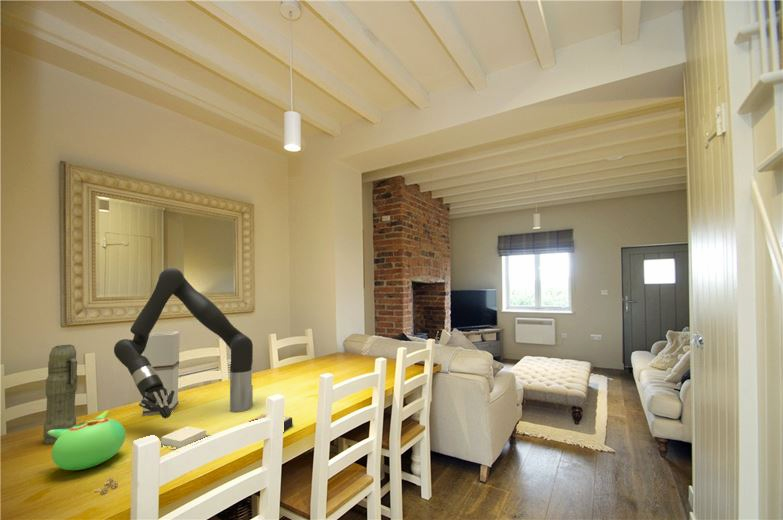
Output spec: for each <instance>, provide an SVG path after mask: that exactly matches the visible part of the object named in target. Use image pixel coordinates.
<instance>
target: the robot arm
mask: <svg viewBox="0 0 783 520" xmlns="http://www.w3.org/2000/svg"><path fill="white" fill-rule="evenodd" d="M172 295H174V296H175V297H176V298H178V300H179V301H180V302H182V303H183V305H184V306H185V308H187V310H188V311H189V313H190V314H192V316H193V317H194V318H195V319H196V320H197V321H198V322H199V323H200V324H202V325H203V326H204V327H205V328H206V329H208V330H209V331H211V332H212V333H214V334H215V335H217V336H218V337H219V338H220V339H221V340H222V341H223V342H224V343H225V344H226V345H227V346H228V348H229V349H230V366H229V373H230V374H229V387H230V388H229V411H230V412H234V413H240V412H245V411H248V410H250V409H251V408H252V406H253V404H254V403H253V402H254V401H253V398H254V396H253V393H254V391H253V388H254V387H253V386H254V385H253V382H252V380H253V372H252V371H253V370H252V369H253V368H252V367H253V361H254V360H253V356H254V354H253V353H254V352H253V351H254V345H253V342H252V340H251V339H250V338H249V336H247V335H246V334H244V333H243V332H241V331H240V330H239V329H237V328H236V327H235V326H234V325H233V324H232V323H231V322H230V320H229V319H228V318H227V317H226V315H225V314H224V313H223V312H222V311H221V310H220V309H219V308H218V306H216V304H214V302H212V301H211V300H210V299H209V298H207V297H206V296H205V295H203V294H202V293H201V292H199V291H198V290H196V289H195V288H194V287H193V286H192V284H190V282H189V281H188V280H187V279H186V277H185V276H184V274H183V272H182V271H181V270H179V269H177V268H174V267H173V268H172V267H170V268H166V269H164V270H162V271H161V272H160V273H159V276H158V280H157V282H156V285H155V288H154V290H153V292H152V294H151V296H150V297H149V300H148V301H147V302H146V303H145V305H144V307H143V308H142V309H141V311H140V313H139V314H138V316H137V317H136V319H135V321H134V322H133V324H132V326H131V328H130V333H132V334H133V338H132V339H126V338H125V339H121V340H120V339H119V340H118V341H117V342H116V343H115V344H114V347H113V353H114V355H115V357H116V358H117V360H119V362H121V364H122V365H123V366H125V368H127V369H128V372H129V374H130V376H131V378H132V380H133V382H134V384H135V386H136V388H137V390H138V392H139V393H140V396H142V400H141V401H140V402H139V404H138V406H139V407H141V408H142V409H143V408H145V409H148V410H150V411H152V412H154V411H159V412H160V414H159V415H160V416H161V417H162V418H163V419H164V420H166V419H168V418H170V416H171V415H172V413H171V411H170V409H169V405H170V404H171V403H172V399H173V396H174V391H171V392H170V391H167V389H166V388H164V387H163V383H162V381H161V379H160V378H159V376H158V374H157V373H156V371H155V369H154V368H153V367H152V366H151V364H150V362H149V360H148V359H147V358H146V357H145V356H144V355H142V354H144V350H145V348H146V345H147V341H148V338H149V336H150V333H151V332H152V330H153V329H154V327H155V326H156V323H157V322H158V320H159V318H160V316H161V314H162V312H163V310H164V308H165V306H166V304H167V303H168V301H169V299H170V298H171V297H172ZM166 395H167V399H166ZM166 400H167V401H166Z"/></svg>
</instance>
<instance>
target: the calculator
mask: <svg viewBox="0 0 783 520" xmlns="http://www.w3.org/2000/svg"><path fill="white" fill-rule="evenodd" d="M266 415H267V414H261V415H258V416H257V417H255V418H253V419H251V420H249V421H248V422H251V421H254V420H258V419H261V418H265V417H266ZM284 417H285V419H284V432H283V433H285V432H286V431H288V430H289V429H291V428H293V417H291V416H284Z"/></svg>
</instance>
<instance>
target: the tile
mask: <svg viewBox="0 0 783 520" xmlns="http://www.w3.org/2000/svg"><path fill="white" fill-rule="evenodd" d="M206 435H207V431H206V429H204V428H199V427H193V426H185V427H182V428H179V429H177V430H175V431H172V432H170V433H168V434H166V435H163V436H161V438H160V439H161V444H163V445H167V446H171V447H176V448H181V447H183V446H186V445H188V444H191V443H193V442H196V441H198V440H200V439H202V438H204V437H206Z"/></svg>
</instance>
